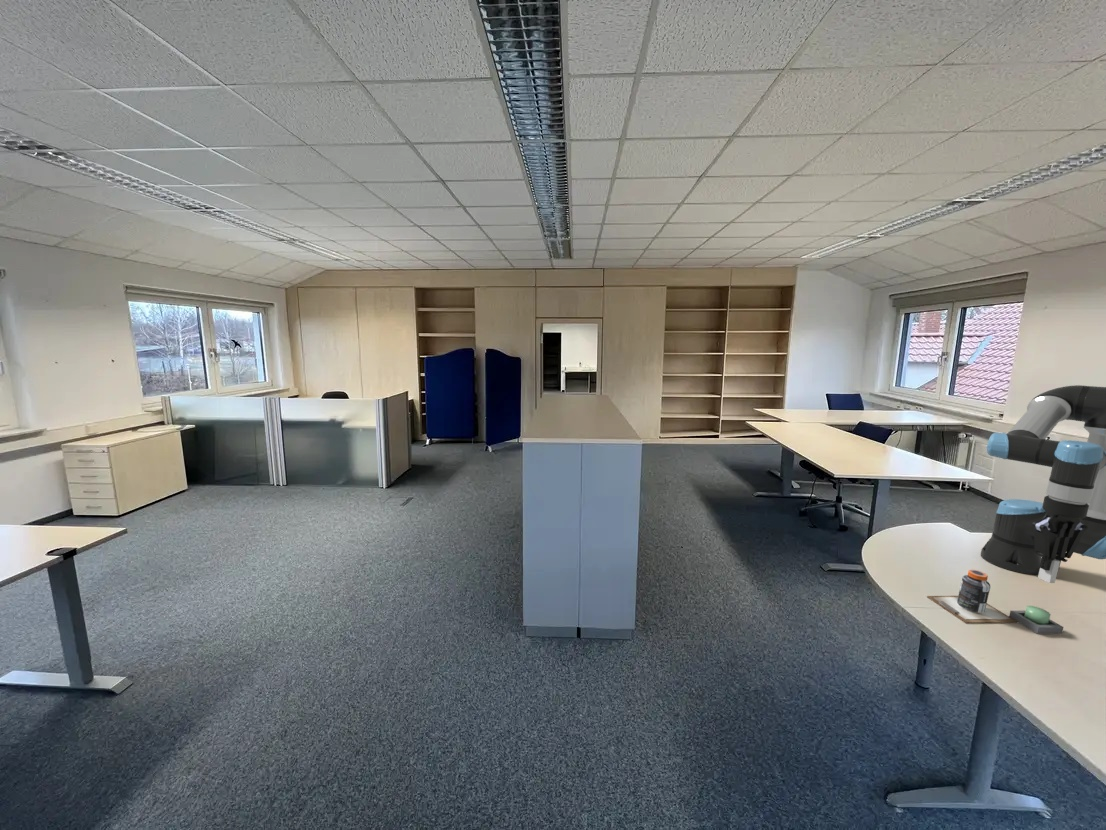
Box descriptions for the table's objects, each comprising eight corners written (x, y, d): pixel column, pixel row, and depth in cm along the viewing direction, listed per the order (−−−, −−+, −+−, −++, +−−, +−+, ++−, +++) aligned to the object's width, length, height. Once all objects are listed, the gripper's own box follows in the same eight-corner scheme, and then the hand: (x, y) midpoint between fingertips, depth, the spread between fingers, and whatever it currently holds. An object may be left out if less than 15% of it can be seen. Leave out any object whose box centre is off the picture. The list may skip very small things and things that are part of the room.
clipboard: (973, 596, 130) (974, 593, 130) (1016, 622, 118) (1017, 619, 118) (926, 597, 129) (927, 594, 129) (965, 623, 117) (966, 620, 117)
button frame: (1032, 616, 121) (1033, 610, 120) (1061, 633, 114) (1063, 627, 113) (1008, 616, 120) (1010, 610, 120) (1037, 633, 114) (1038, 627, 113)
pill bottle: (990, 615, 120) (998, 579, 118) (966, 612, 121) (973, 577, 119) (974, 602, 126) (982, 568, 124) (951, 599, 127) (958, 566, 125)
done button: (1034, 614, 119) (1036, 605, 118) (1052, 625, 115) (1055, 615, 114) (1019, 615, 119) (1021, 605, 118) (1037, 625, 115) (1040, 616, 114)
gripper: (1072, 494, 114) (1052, 572, 118) (1026, 494, 113) (1008, 572, 118) (1109, 504, 106) (1086, 588, 111) (1060, 505, 106) (1039, 588, 110)
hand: (1046, 580), depth 114 cm, fingers closed
